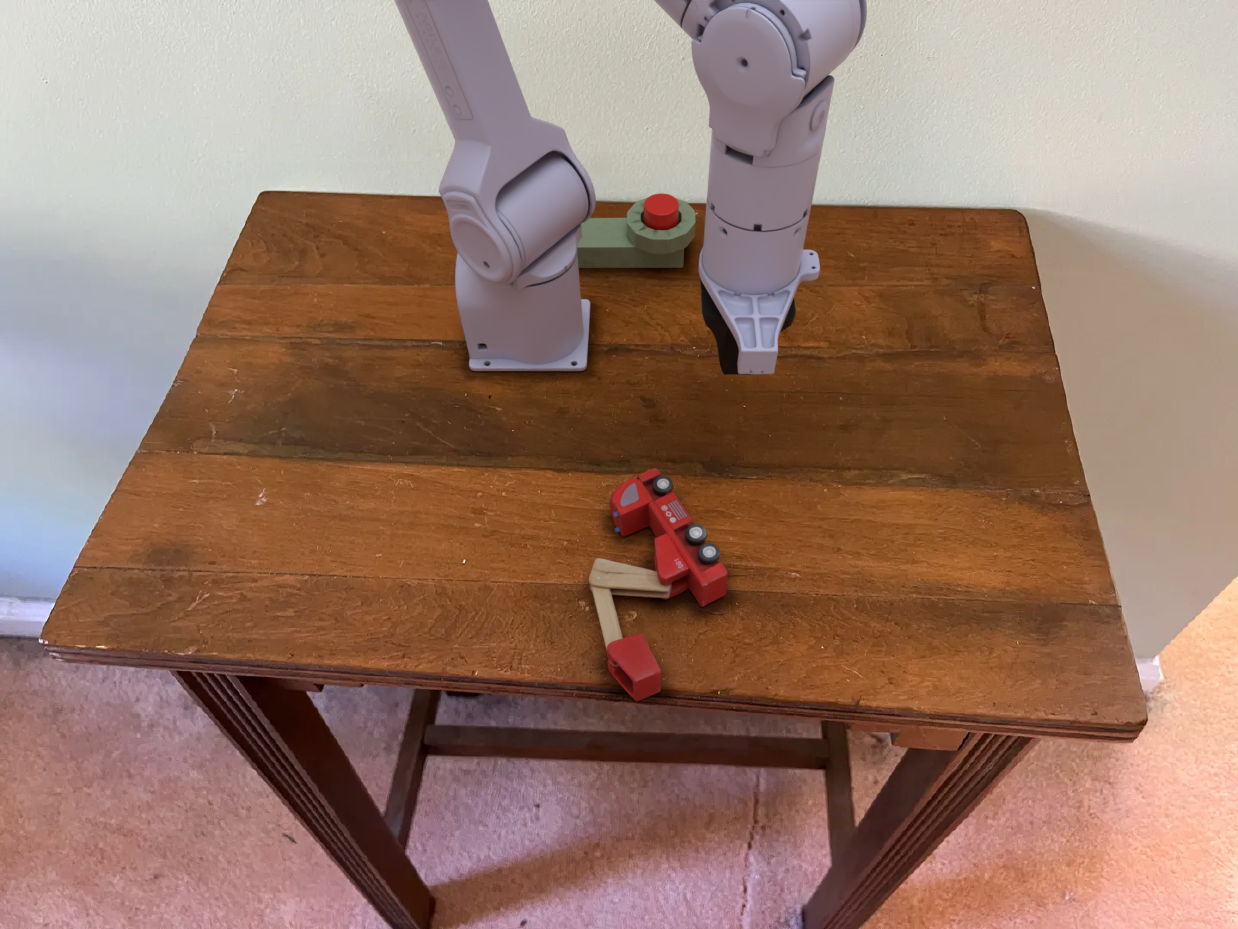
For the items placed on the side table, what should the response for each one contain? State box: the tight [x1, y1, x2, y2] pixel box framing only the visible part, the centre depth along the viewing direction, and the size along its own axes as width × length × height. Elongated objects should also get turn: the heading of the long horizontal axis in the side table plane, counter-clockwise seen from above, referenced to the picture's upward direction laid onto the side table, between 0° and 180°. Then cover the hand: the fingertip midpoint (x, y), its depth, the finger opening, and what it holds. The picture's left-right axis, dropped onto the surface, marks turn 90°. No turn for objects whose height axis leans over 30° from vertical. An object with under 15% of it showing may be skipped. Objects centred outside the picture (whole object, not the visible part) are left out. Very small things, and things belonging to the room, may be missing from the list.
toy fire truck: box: [588, 467, 729, 702], centre depth 57 cm, size 3×14×10 cm
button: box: [644, 192, 679, 230], centre depth 74 cm, size 3×3×2 cm
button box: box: [577, 197, 696, 269], centre depth 76 cm, size 11×6×4 cm, turn 89°
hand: (737, 367), depth 58 cm, fingers closed
